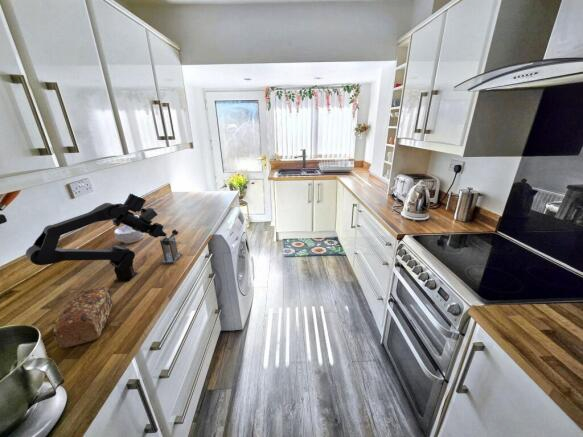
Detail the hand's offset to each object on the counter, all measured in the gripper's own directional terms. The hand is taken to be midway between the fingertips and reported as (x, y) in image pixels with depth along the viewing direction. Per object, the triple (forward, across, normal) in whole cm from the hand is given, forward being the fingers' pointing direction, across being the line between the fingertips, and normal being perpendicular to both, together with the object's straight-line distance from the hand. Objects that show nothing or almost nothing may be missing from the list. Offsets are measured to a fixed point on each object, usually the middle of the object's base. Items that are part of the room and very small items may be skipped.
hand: (162, 234), depth 118 cm
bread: (-19, -18, +38) cm, 46 cm away
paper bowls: (+11, +38, +8) cm, 41 cm away
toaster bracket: (+9, -4, +10) cm, 14 cm away
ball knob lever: (+5, -2, 0) cm, 6 cm away
